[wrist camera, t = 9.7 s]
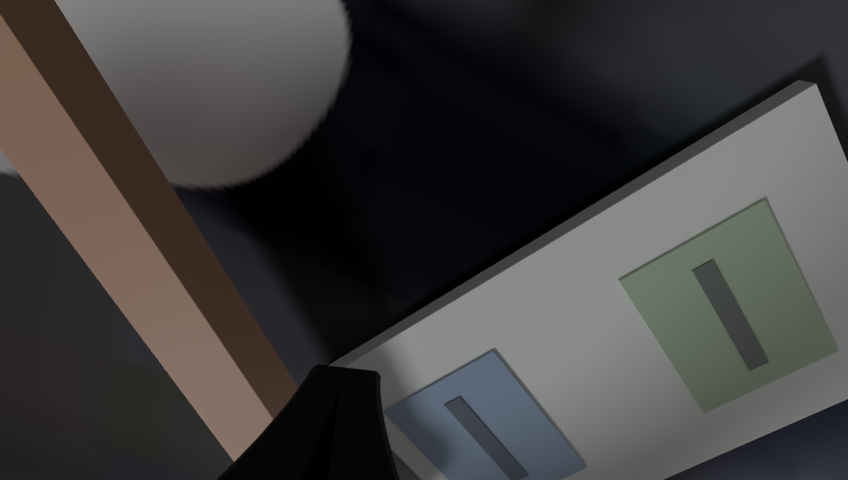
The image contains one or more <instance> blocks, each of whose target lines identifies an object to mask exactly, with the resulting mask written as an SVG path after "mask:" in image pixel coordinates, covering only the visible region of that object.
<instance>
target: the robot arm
mask: <svg viewBox="0 0 848 480" xmlns="http://www.w3.org/2000/svg"><path fill="white" fill-rule="evenodd" d="M380 382H381V376H380V374H379V373H378V372H377V371H372V370H363V369H355V368H346V367H337V366H328V365H320V364H318V365H316V366H315V367H313V368H312V370H311V371H310V373H309V374H308V376H307V377H306V379H305V380H304V381H303V383H302V384H301V386H300V387H299V388H298V390H297V391H296V392H295V394H294V395H293V396H292V397H291V399H290V400H289V401H288V403H287V404H286V405H285V406H284V408H283V409H282V410H281V411H280V412H279V413H278V415H277V416H276V417H275V418H274V419H273V420H272V422H271V423H270V424H269V425H268V426H267V427H266V429H265V430H264V431H263V432H262V433H261V434H260V435H259V437H258V438H257V439H256V440H255V441H254V442H253V443H252V444H251V445H250V446H249V447H248V448H247V449H246V450H245V451H244V452H243V453H242V454H241V456H240V457H239V458H238V459H237V460H236V461H235V462H234V463H233V464H232V465H231V466H230V467H229V468H228V469H227V470H226V471H225V472H224V473H223V474H222V475H221V476H220V477H219V478H218V479H217V480H400V479H399V476H398V473H397V469H396V466H395V462H394V459H393V455H392V451H391V447H390V443H389V439H388V435H387V431H386V426H385V421H384V415H383V409H382V402H381V389H380Z"/></svg>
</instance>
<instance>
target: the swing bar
mask: <svg viewBox="0 0 848 480" xmlns="http://www.w3.org/2000/svg"><path fill="white" fill-rule="evenodd" d="M0 149H1V150H2V151H3V153H4V154H5V155H6V157H7V158H8V159H9V161H10V162H11V163H12V165H13V166H14V167H15V169H16V170H17V172H18V173H19V174H20V176H21V177H22V178H23V180H24V181H25V182H26V184H27V185H28V186H29V188H30V189H31V190H32V192H33V193H34V194H35V196H36V197H37V198H38V200H39V201H40V202H41V204H42V205H43V206H44V208H45V209H46V210H47V212H48V213H49V214H50V216H51V217H52V218H53V220H54V221H55V222H56V224H57V225H58V226H59V228H60V229H61V230H62V232H63V233H64V234H65V236H66V237H67V239H68V240H69V241H70V243H71V244H72V245H73V247H74V248H75V249H76V251H77V252H78V253H79V255H80V256H81V257H82V259H83V260H84V261H85V263H86V264H87V265H88V267H89V268H90V269H91V271H92V272H93V273H94V275H95V276H96V277H97V279H98V280H99V281H100V283H101V284H102V285H103V287H104V288H105V289H106V291H107V292H108V293H109V295H110V296H111V297H112V299H113V300H114V302H115V303H116V304H117V306H118V307H119V308H120V310H121V311H122V312H123V314H124V315H125V316H126V318H127V319H128V320H129V322H130V323H131V324H132V326H133V327H134V328H135V330H136V331H137V332H138V334H139V335H140V336H141V338H142V339H143V340H144V342H145V343H146V344H147V346H148V347H149V348H150V350H151V351H152V352H153V354H154V355H155V356H156V358H157V359H158V360H159V362H160V363H161V365H162V366H163V367H164V369H165V370H166V371H167V373H168V374H169V375H170V377H171V378H172V379H173V381H174V382H175V383H176V385H177V386H178V387H179V389H180V390H181V391H182V393H183V394H184V395H185V397H186V398H187V399H188V401H189V402H190V403H191V405H192V406H193V407H194V409H195V410H196V411H197V413H198V414H199V415H200V417H201V418H202V419H203V421H204V422H205V423H206V425H207V426H208V428H209V429H210V430H211V432H212V433H213V434H214V436H215V437H216V438H217V440H218V441H219V442H220V444H221V445H222V446H223V448H224V449H225V450H226V452H227V453H228V454H229V456H230V457H231V458H232V460H233V461H234V462H235V461H236V460H237V459H238V458H239V457H240V456H241V454H242V453H243V452H244V451H245V450H246V449H247V448H248V447H249V446H250V445H251V444H252V443H253V442H254V441H255V440H256V439H257V438H258V437H259V435H260V434H261V433H262V432H263V431H264V430H265V429H266V427H267V426H268V425H269V424H270V423H271V422H272V420H273V419H274V418H275V417H276V416H277V415H278V413H279V412H280V411H281V410H282V409H283V408H284V406H285V405H286V404H287V403H288V401H289V400H290V399H291V397H292V396H293V395H294V394H295V392H296V391H297V390H298V387H297V386H296V384H295V382H294V381H293V379H292V378H291V376H290V374H289V373H288V371H287V370H286V368H285V366H284V365H283V363H282V362H281V360H280V359H279V357H278V355H277V354H276V352H275V351H274V349H273V347H272V346H271V344H270V343H269V341H268V339H267V338H266V336H265V335H264V333H263V331H262V330H261V328H260V327H259V325H258V324H257V322H256V320H255V319H254V317H253V316H252V314H251V312H250V311H249V309H248V308H247V306H246V304H245V303H244V301H243V300H242V298H241V296H240V295H239V293H238V292H237V290H236V289H235V287H234V285H233V284H232V282H231V281H230V279H229V277H228V276H227V274H226V273H225V271H224V269H223V268H222V266H221V265H220V263H219V261H218V260H217V258H216V257H215V255H214V254H213V252H212V250H211V249H210V247H209V246H208V244H207V242H206V241H205V239H204V238H203V236H202V234H201V233H200V231H199V230H198V228H197V226H196V225H195V223H194V222H193V220H192V219H191V217H190V215H189V214H188V212H187V211H186V209H185V207H184V206H183V204H182V203H181V201H180V199H179V198H178V196H177V195H176V193H175V191H174V190H173V188H172V187H171V185H170V184H169V182H168V180H167V179H166V177H165V176H164V174H163V172H162V171H161V169H160V168H159V166H158V164H157V163H156V161H155V160H154V158H153V157H152V155H151V154H150V152H149V150H148V149H147V147H146V145H145V144H144V142H143V141H142V139H141V137H140V136H139V134H138V133H137V131H136V129H135V128H134V126H133V125H132V123H131V121H130V120H129V118H128V117H127V115H126V114H125V112H124V110H123V109H122V107H121V106H120V104H119V102H118V101H117V99H116V98H115V96H114V94H113V93H112V91H111V90H110V88H109V87H108V85H107V83H106V82H105V80H104V79H103V77H102V75H101V74H100V72H99V71H98V69H97V67H96V66H95V64H94V63H93V61H92V59H91V58H90V56H89V55H88V53H87V51H86V50H85V48H84V47H83V45H82V44H81V42H80V40H79V39H78V37H77V36H76V34H75V33H74V31H73V29H72V28H71V26H70V24H69V23H68V21H67V20H66V18H65V16H64V15H63V13H62V12H61V10H60V9H59V7H58V5H57V4H56V2H55V1H54V0H0Z"/></svg>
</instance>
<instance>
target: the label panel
mask: <svg viewBox="0 0 848 480" xmlns="http://www.w3.org/2000/svg"><path fill="white" fill-rule="evenodd" d="M328 366H337V367H346V368H355V369H363V370H372V371H377V372H378V373H379V374H380V376H381V382H380V389H381V402H382V409H383V415H384V421H385V426H386V431H387V435H388V439H389V443H390V447H391V451H392V455H393V459H394V462H395V466H396V469H397V473H398V476H399V479H400V480H664V479H666V478H668V477H670V476H673V475H675V474H677V473H680V472H682V471H684V470H686V469H689V468H691V467H693V466H696V465H698V464H700V463H702V462H705V461H707V460H709V459H712V458H714V457H716V456H718V455H721V454H723V453H725V452H728V451H730V450H732V449H734V448H737V447H739V446H741V445H744V444H746V443H748V442H750V441H753V440H755V439H757V438H760V437H762V436H764V435H766V434H769V433H771V432H773V431H776V430H778V429H780V428H782V427H785V426H787V425H789V424H792V423H794V422H796V421H798V420H801V419H803V418H805V417H808V416H810V415H812V414H814V413H817V412H819V411H821V410H824V409H826V408H828V407H830V406H833V405H835V404H837V403H840V402H842V401H844V400H846V399H848V162H847V160H846V157H845V155H844V152H843V150H842V147H841V145H840V142H839V140H838V137H837V135H836V132H835V130H834V127H833V125H832V122H831V120H830V117H829V115H828V112H827V110H826V107H825V105H824V102H823V100H822V97H821V95H820V92H819V90H818V87H817V85H816V83H811V82H806V81H801V80H797V81H796V82H794V83H792V84H791V85H789V86H787V87H786V88H784V89H782V90H781V91H779V92H777V93H776V94H774V95H772V96H771V97H769V98H768V99H766V100H764V101H763V102H761V103H759V104H758V105H756V106H754V107H753V108H751V109H749V110H748V111H746V112H744V113H743V114H741V115H740V116H738V117H736V118H735V119H733V120H731V121H730V122H728V123H726V124H725V125H723V126H721V127H720V128H718V129H716V130H715V131H713V132H712V133H710V134H708V135H707V136H705V137H703V138H702V139H700V140H698V141H697V142H695V143H693V144H692V145H690V146H688V147H687V148H685V149H684V150H682V151H680V152H679V153H677V154H675V155H674V156H672V157H670V158H669V159H667V160H665V161H664V162H662V163H660V164H659V165H657V166H656V167H654V168H652V169H651V170H649V171H647V172H646V173H644V174H642V175H641V176H639V177H637V178H636V179H634V180H633V181H631V182H629V183H628V184H626V185H624V186H623V187H621V188H619V189H618V190H616V191H614V192H613V193H611V194H609V195H608V196H606V197H605V198H603V199H601V200H600V201H598V202H596V203H595V204H593V205H591V206H590V207H588V208H586V209H585V210H583V211H581V212H580V213H578V214H577V215H575V216H573V217H572V218H570V219H568V220H567V221H565V222H563V223H562V224H560V225H558V226H557V227H555V228H553V229H552V230H550V231H549V232H547V233H545V234H544V235H542V236H540V237H539V238H537V239H535V240H534V241H532V242H530V243H529V244H527V245H525V246H524V247H522V248H521V249H519V250H517V251H516V252H514V253H512V254H511V255H509V256H507V257H506V258H504V259H502V260H501V261H499V262H497V263H496V264H494V265H493V266H491V267H489V268H488V269H486V270H484V271H483V272H481V273H479V274H478V275H476V276H474V277H473V278H471V279H470V280H468V281H466V282H465V283H463V284H461V285H460V286H458V287H456V288H455V289H453V290H451V291H450V292H448V293H446V294H445V295H443V296H442V297H440V298H438V299H437V300H435V301H433V302H432V303H430V304H428V305H427V306H425V307H423V308H422V309H420V310H418V311H417V312H415V313H414V314H412V315H410V316H409V317H407V318H405V319H404V320H402V321H400V322H399V323H397V324H395V325H394V326H392V327H390V328H389V329H387V330H386V331H384V332H382V333H381V334H379V335H377V336H376V337H374V338H372V339H371V340H369V341H367V342H366V343H364V344H362V345H361V346H359V347H358V348H356V349H354V350H353V351H351V352H349V353H348V354H346V355H344V356H343V357H341V358H339V359H338V360H336V361H334V362H333V363H331V364H330V365H328Z"/></svg>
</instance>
